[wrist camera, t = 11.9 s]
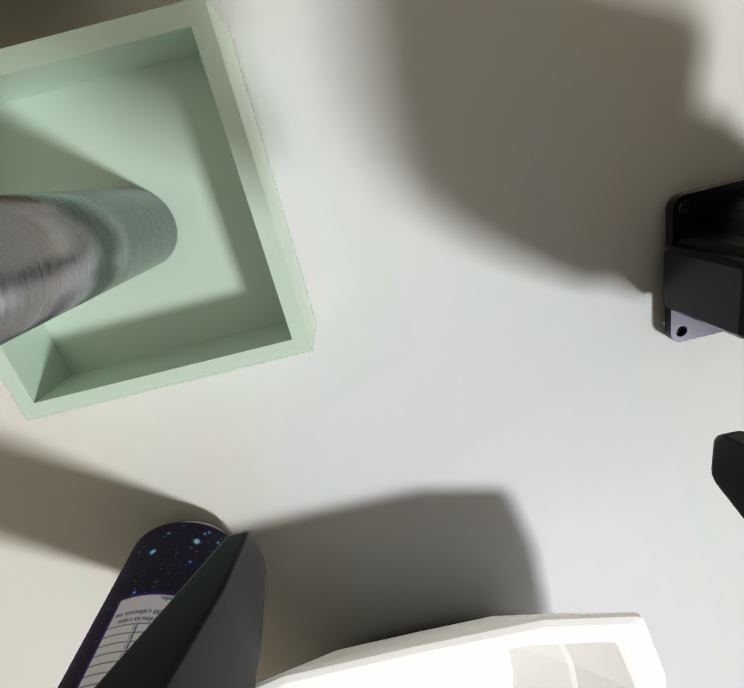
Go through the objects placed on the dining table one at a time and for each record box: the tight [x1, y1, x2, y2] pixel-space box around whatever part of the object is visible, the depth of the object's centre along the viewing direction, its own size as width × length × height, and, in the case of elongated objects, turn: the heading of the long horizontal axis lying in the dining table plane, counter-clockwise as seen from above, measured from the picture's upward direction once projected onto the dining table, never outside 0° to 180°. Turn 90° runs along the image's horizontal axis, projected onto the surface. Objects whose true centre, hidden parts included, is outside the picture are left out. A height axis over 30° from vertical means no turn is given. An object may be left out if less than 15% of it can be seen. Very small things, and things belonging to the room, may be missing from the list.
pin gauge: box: [0, 186, 177, 345], centre depth 12 cm, size 3×3×10 cm
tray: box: [0, 0, 317, 421], centre depth 16 cm, size 11×11×3 cm
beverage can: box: [58, 521, 229, 688], centre depth 18 cm, size 6×6×12 cm
